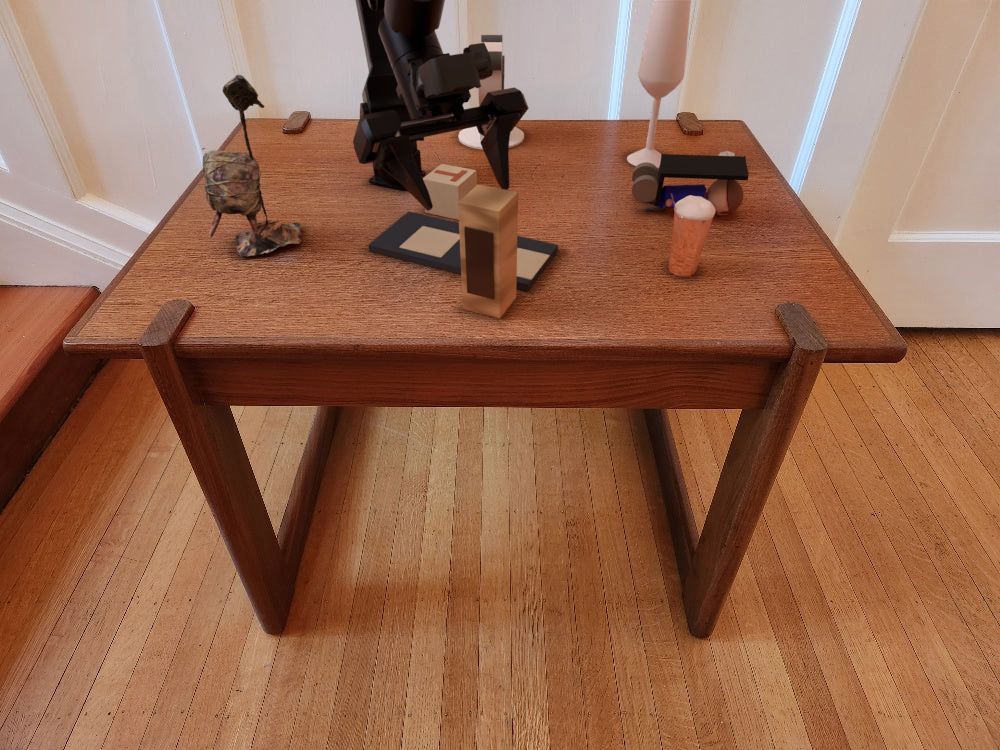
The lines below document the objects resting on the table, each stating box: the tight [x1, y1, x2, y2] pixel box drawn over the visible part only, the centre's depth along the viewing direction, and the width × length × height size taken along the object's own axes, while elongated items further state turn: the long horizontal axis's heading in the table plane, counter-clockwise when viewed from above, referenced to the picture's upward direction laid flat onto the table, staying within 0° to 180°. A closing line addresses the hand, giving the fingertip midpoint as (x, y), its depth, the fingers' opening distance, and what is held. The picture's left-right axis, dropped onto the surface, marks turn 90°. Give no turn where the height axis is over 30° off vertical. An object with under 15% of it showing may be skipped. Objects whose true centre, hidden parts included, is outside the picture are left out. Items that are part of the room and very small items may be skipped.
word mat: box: [367, 211, 559, 292], centre depth 81 cm, size 22×10×1 cm, turn 65°
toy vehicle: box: [631, 153, 750, 216], centre depth 88 cm, size 7×8×15 cm
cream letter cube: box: [422, 163, 478, 221], centre depth 89 cm, size 6×6×5 cm
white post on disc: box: [457, 34, 525, 151], centre depth 105 cm, size 12×11×15 cm
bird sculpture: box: [201, 74, 304, 258], centre depth 77 cm, size 8×11×20 cm
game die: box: [716, 150, 736, 156], centre depth 99 cm, size 4×4×3 cm
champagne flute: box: [626, 0, 692, 169], centre depth 95 cm, size 7×7×24 cm
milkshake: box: [668, 194, 716, 277], centre depth 75 cm, size 5×5×10 cm
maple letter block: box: [458, 183, 519, 320], centre depth 69 cm, size 5×5×13 cm
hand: (469, 199), depth 69 cm, fingers open, 9 cm apart
